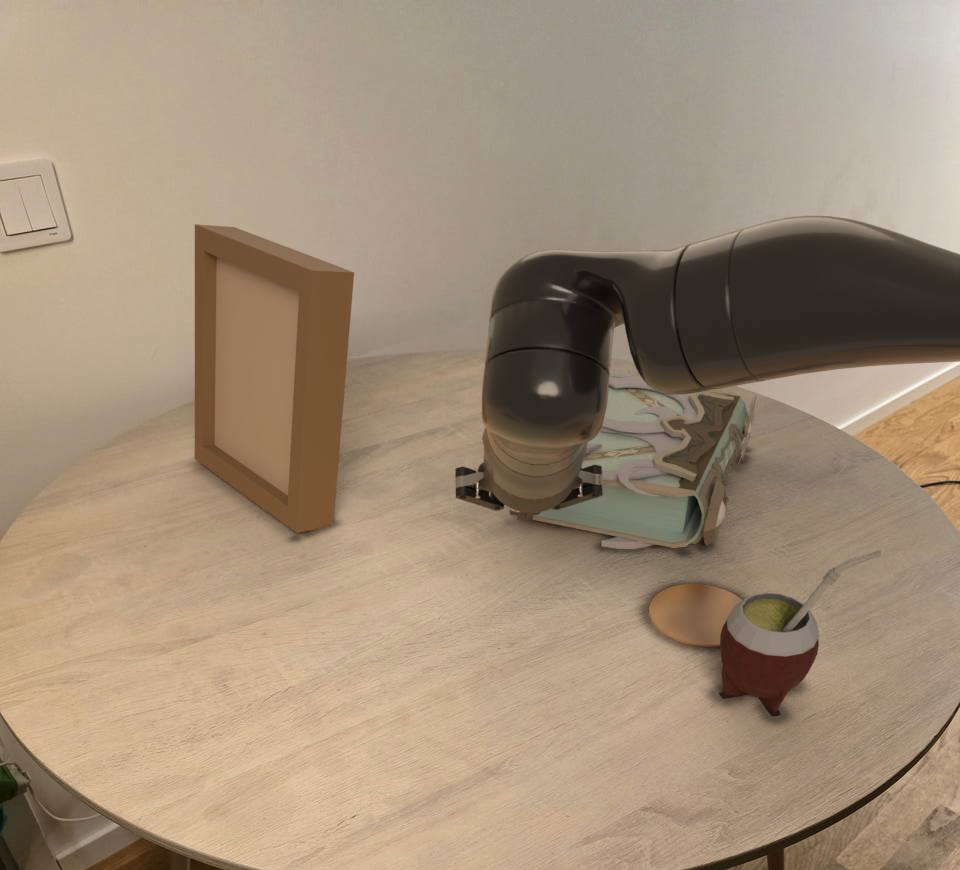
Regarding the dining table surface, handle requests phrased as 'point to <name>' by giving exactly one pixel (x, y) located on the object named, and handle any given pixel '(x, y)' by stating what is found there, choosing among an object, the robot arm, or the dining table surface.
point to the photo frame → (270, 371)
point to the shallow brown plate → (692, 613)
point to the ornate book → (660, 465)
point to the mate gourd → (772, 642)
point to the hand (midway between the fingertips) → (524, 509)
